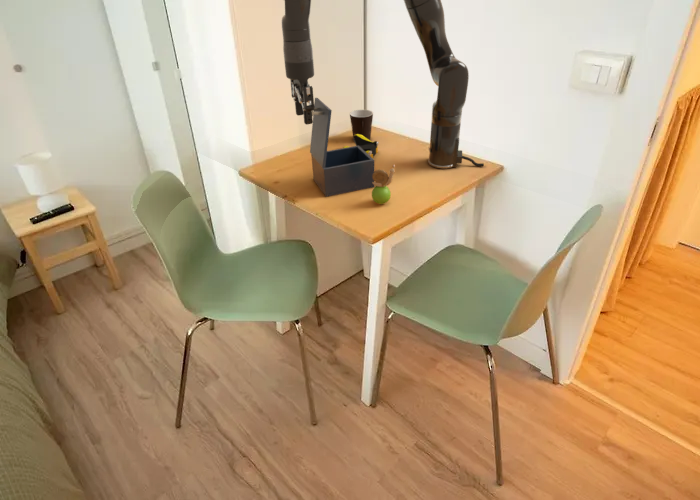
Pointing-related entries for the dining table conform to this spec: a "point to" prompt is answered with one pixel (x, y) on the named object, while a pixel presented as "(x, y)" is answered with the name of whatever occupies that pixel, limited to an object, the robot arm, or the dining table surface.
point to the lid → (320, 131)
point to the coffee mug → (361, 122)
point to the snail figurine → (382, 186)
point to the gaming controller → (366, 144)
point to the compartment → (344, 171)
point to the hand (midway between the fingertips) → (304, 119)
